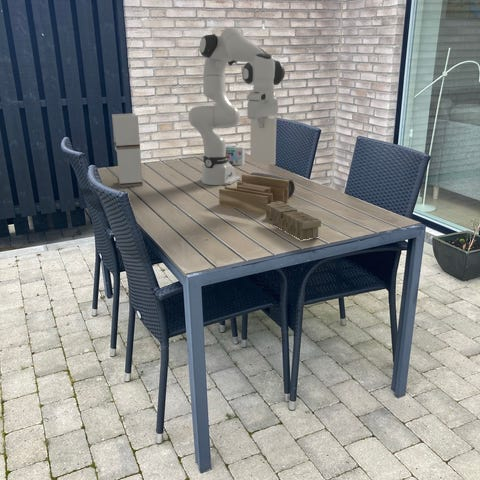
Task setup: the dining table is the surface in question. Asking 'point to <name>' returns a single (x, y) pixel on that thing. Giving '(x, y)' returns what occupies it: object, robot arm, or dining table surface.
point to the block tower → (292, 220)
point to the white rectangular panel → (263, 141)
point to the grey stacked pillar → (127, 149)
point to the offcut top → (254, 188)
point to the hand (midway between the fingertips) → (263, 127)
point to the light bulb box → (235, 154)
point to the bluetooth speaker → (291, 183)
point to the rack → (254, 194)
